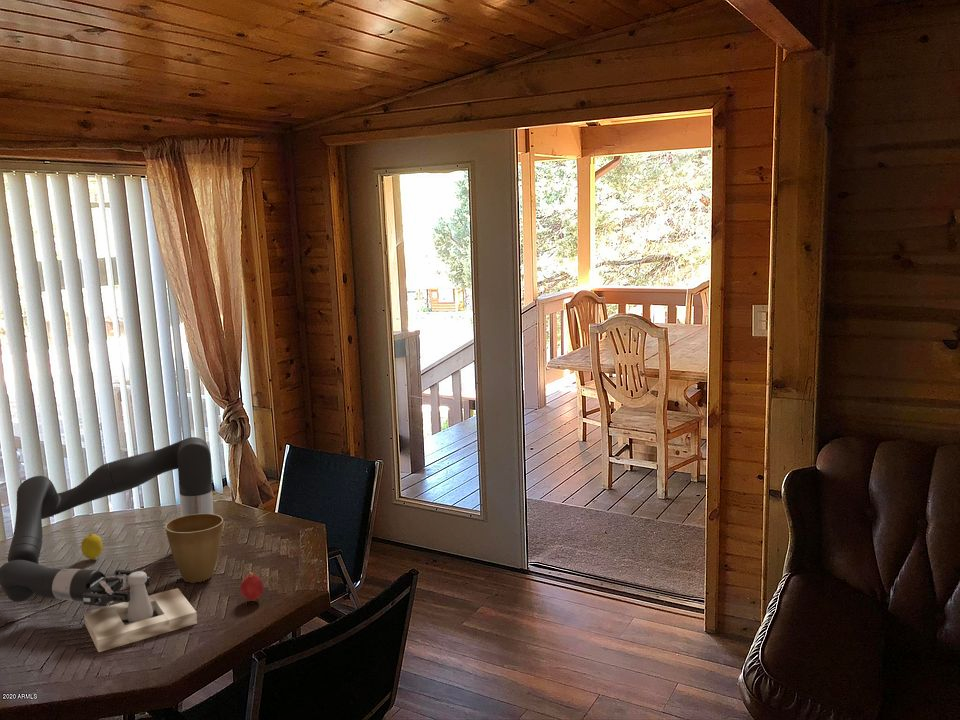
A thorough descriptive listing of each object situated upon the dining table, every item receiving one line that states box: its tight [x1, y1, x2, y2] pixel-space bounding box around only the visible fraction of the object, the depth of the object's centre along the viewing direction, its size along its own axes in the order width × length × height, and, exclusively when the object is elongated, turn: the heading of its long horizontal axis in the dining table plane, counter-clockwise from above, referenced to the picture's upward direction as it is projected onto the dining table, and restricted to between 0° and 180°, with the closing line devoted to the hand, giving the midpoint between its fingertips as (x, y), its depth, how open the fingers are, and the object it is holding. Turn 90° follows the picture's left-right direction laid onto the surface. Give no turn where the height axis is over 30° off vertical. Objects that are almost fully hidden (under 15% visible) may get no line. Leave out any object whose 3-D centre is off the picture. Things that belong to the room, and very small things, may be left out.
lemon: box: [80, 533, 104, 561], centre depth 223 cm, size 6×6×8 cm
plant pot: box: [164, 513, 224, 584], centre depth 211 cm, size 15×15×16 cm
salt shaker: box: [126, 570, 154, 624], centre depth 186 cm, size 6×6×13 cm
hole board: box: [83, 587, 198, 653], centre depth 186 cm, size 22×16×3 cm
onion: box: [239, 572, 265, 602], centre depth 197 cm, size 6×6×8 cm
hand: (139, 589), depth 185 cm, fingers open, 8 cm apart
